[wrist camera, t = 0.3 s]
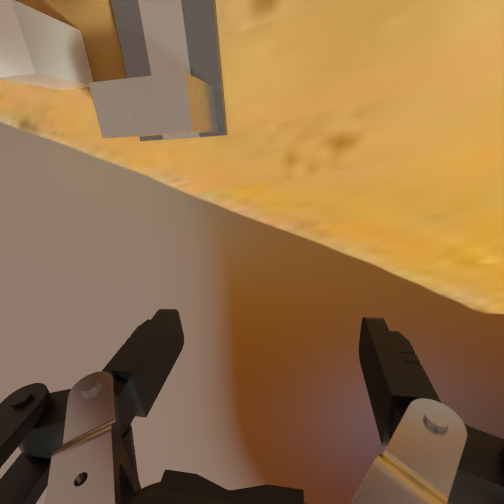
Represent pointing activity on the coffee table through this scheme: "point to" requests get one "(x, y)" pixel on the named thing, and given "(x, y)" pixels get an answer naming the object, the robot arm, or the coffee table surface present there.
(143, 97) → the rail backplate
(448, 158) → the coffee table surface
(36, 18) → the block
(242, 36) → the coffee table surface
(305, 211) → the coffee table surface
